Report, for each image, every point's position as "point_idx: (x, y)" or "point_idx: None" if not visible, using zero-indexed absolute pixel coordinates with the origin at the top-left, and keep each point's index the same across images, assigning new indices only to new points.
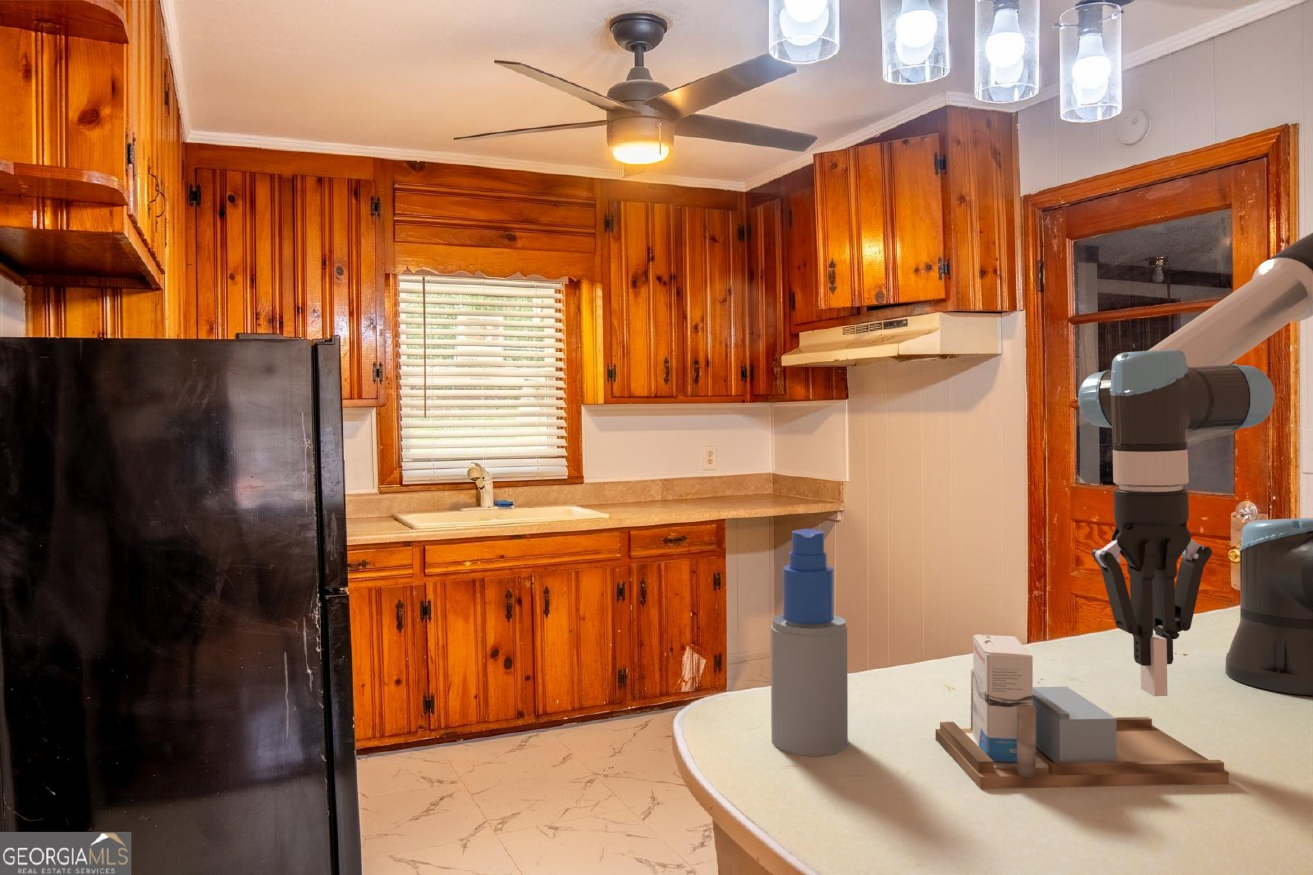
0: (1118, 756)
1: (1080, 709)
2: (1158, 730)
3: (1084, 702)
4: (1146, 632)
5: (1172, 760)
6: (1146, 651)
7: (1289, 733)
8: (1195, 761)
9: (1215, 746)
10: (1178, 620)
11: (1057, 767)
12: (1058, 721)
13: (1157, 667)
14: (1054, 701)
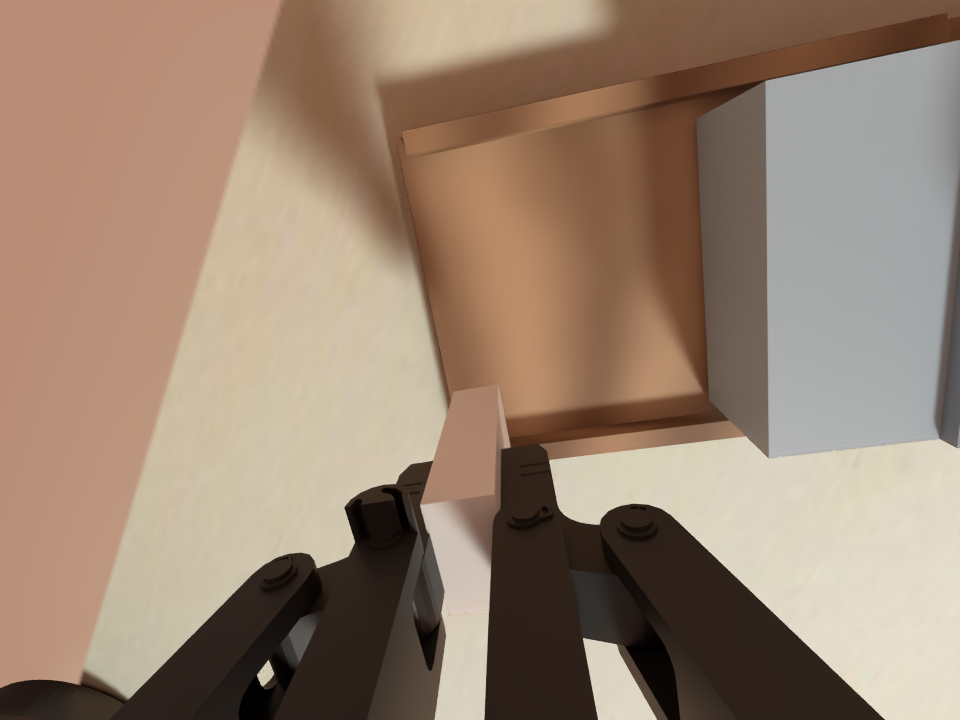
0: (645, 218)
1: (857, 185)
2: None
3: (795, 278)
4: (536, 519)
5: (509, 208)
6: (522, 477)
7: (165, 481)
8: (477, 129)
9: (346, 390)
10: (301, 624)
11: (924, 18)
12: None
13: (482, 427)
14: (913, 276)
